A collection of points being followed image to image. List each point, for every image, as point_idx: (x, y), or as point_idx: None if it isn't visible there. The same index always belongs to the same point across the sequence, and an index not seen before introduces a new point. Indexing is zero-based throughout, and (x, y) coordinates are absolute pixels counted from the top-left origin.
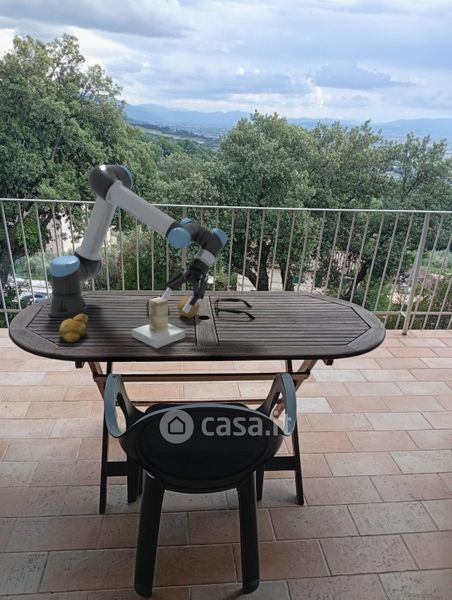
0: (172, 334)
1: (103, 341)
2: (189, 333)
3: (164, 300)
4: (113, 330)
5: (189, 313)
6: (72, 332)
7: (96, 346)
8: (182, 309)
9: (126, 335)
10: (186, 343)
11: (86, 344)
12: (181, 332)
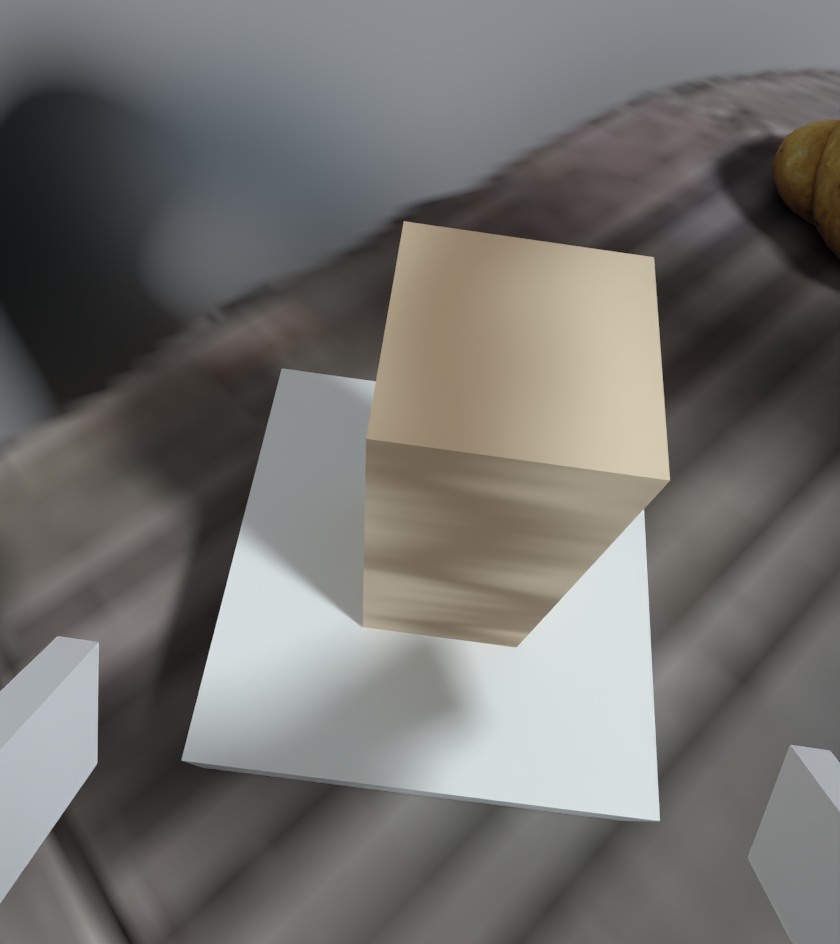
0: (239, 563)
1: (680, 289)
2: (227, 927)
3: (407, 379)
4: (833, 453)
5: None
6: (827, 130)
7: (637, 224)
8: (92, 644)
9: (671, 446)
10: (105, 655)
11: (706, 213)
12: (199, 697)
